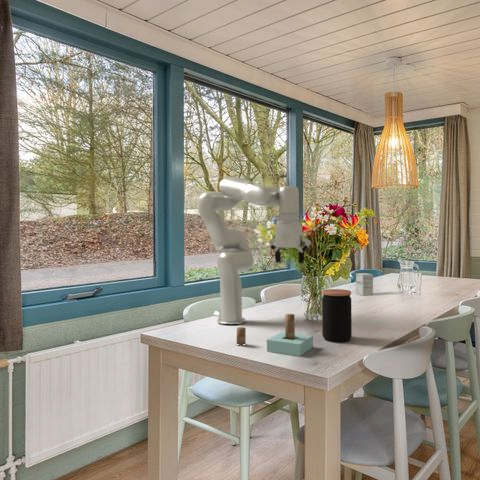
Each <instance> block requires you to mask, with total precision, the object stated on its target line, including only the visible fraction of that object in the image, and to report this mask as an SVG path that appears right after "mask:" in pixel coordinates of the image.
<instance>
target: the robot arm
mask: <svg viewBox="0 0 480 480" xmlns="http://www.w3.org/2000/svg"><path fill="white" fill-rule="evenodd" d="M218 185H219V186H218V187H219V190H220V191H206V192H204V193H202V194H200V195H199V198H198V202H197V210H198V213H199V216H200V218H201V220H202V222H203V223H204V226H205V227H206V230H207V233H208V235H209V238H210V240H211V243H212V245H213V247H214V248H215V250H216V251H220V252H222V251H223V252H222V253H220V254H219V255H218V257H217V261H216V262H217V270H218V273H219V288H220V289H219V292H220V295H219V296H220V297H219V298H220V300H219V301H220V302H219V303H220V305H219V306H220V311H218V310H217V311H214V313H213V316H214V317H218V319H217V322H218V324H219V323H222V324H238V323H243V322H245V321H247V319H246V318H245V317H243V302H242V301H243V293H242V291H243V289H242V287H243V285H242V279H241V277H240V274H239V273H240V272H247V271H249V270H251V269H252V268H253V266H254V262H255V259H254V255H253V253H252V250H251V248H250V246H249V243H248V242H247V241H248V240H247V239H246V237H245V235H244V233H243V232H241V231H240V230H239V229H229V228H228V227H227V224H225V220H224V219H223V217H222V216H221V215H220V214H219V213H218V212H217V211H231V210H232V209H234V208H235V207H236V206H238V204H240V203H241V202H242V201H244V202H246V203H249V204H252V205H256V206H262V207H278V211H279V213H278V215H276V216H275V218H276V220H278V221H277V222H276V228H275V237H273V238H271V239H269V240H268V243H269V246H270V248H271V250H273V252H274V259H275V262H276V263H281V261H282V256H281V255H282V253H281V249H283V248H284V249H286V248H289V249H290V248H291V249H295V248H297V250H298V251H299V252H298V263H299V264H303V263H305V253H306V251H307V250H308V249H309V247H310V245H311V243H312V241H311V240H309V239H308V238H306V237H305V236H304V235H303V228H302V224H301V221H300V214H299V213H300V212H299V211H300V209H299V208H300V207H299V206H300V201H299V200H300V199H299V198H300V197H299V196H300V195H299V191H300V190H299V187H297V186H296V185H295V186H294V185H285V186H281V187H277V186H275V187H274V186H263V185H257V184H255V183H254V182H253V181H252V180H247V179H245V178H243V177H233V176H228V177H224V178H223V179H221V181H220V182H219V183H218ZM304 243H305V245H304ZM303 245H304V246H303ZM217 322H216V323H217ZM245 323H246V322H245ZM222 324H221V325H222ZM243 324H244V323H243Z"/></svg>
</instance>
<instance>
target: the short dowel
mask: <svg viewBox="0 0 480 480" xmlns="http://www.w3.org/2000/svg"><path fill="white" fill-rule="evenodd" d="M246 330H247V329H246V327H243V326H240V327H236V345H237V344H239V345H243V344H246V343H247V342H246V338H247V337H246Z"/></svg>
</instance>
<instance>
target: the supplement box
mask: <svg viewBox="0 0 480 480" xmlns="http://www.w3.org/2000/svg"><path fill="white" fill-rule="evenodd" d="M355 286H356V287H355V294H356V295H359V296H362V297H367V296H369V295H370V296H373V295H374V274H372V273H367V272H364V273H362V272H360V273H359V272H358V273H356V274H355Z"/></svg>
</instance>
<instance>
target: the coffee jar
mask: <svg viewBox="0 0 480 480" xmlns="http://www.w3.org/2000/svg"><path fill="white" fill-rule="evenodd" d="M321 293H322V295H323V296H321V297H322V298H321V307H322V308H321V311H322V313H321V318H322V319H321V320H322V323H321V324H322V327H321V328H322V329H321V331H322V332H321V333H322V335H321V336H322V338H323V339H324V341H327V342H330V343H340V344H341V343H346V342H349V341H351V339H352V337H353V336H352V335H353V334H352V325H353V323H352V322H353V321H352V297H351V295H352V291H351V290H349V289H341V288H335V289H334V288H328V289H323V290H322V291H321Z"/></svg>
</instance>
